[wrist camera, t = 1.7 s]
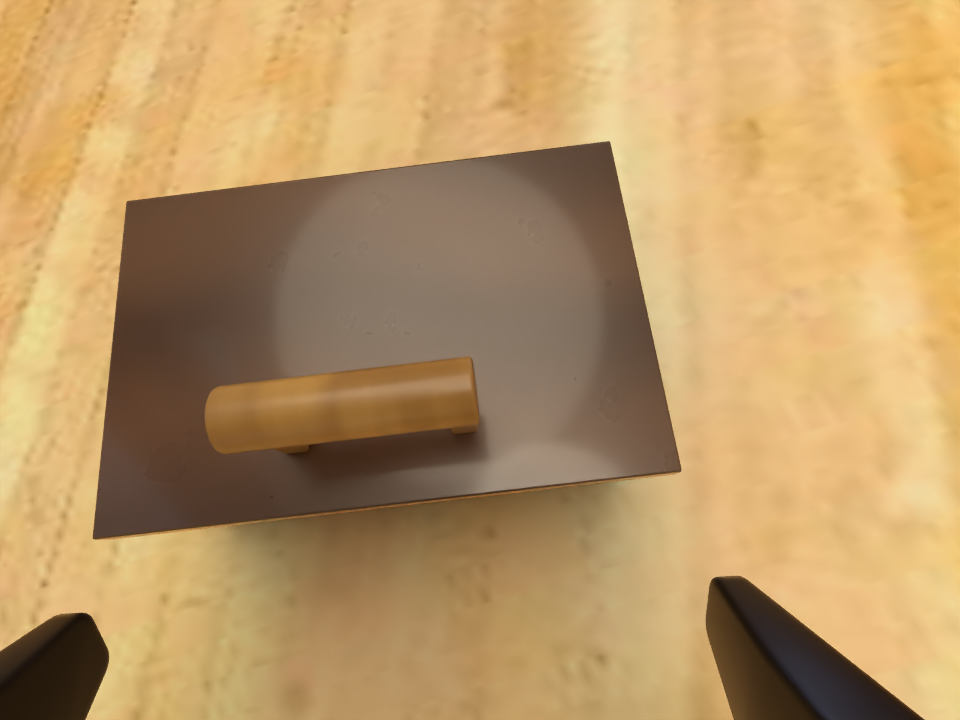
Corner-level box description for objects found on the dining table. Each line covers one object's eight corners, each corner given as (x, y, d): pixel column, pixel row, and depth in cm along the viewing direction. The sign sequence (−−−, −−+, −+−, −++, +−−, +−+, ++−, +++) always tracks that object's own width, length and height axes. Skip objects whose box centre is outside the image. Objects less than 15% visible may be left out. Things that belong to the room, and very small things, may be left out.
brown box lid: (673, 475, 15) (744, 450, 10) (112, 539, 15) (-54, 542, 11) (606, 156, 18) (638, 33, 14) (141, 214, 18) (22, 111, 14)
